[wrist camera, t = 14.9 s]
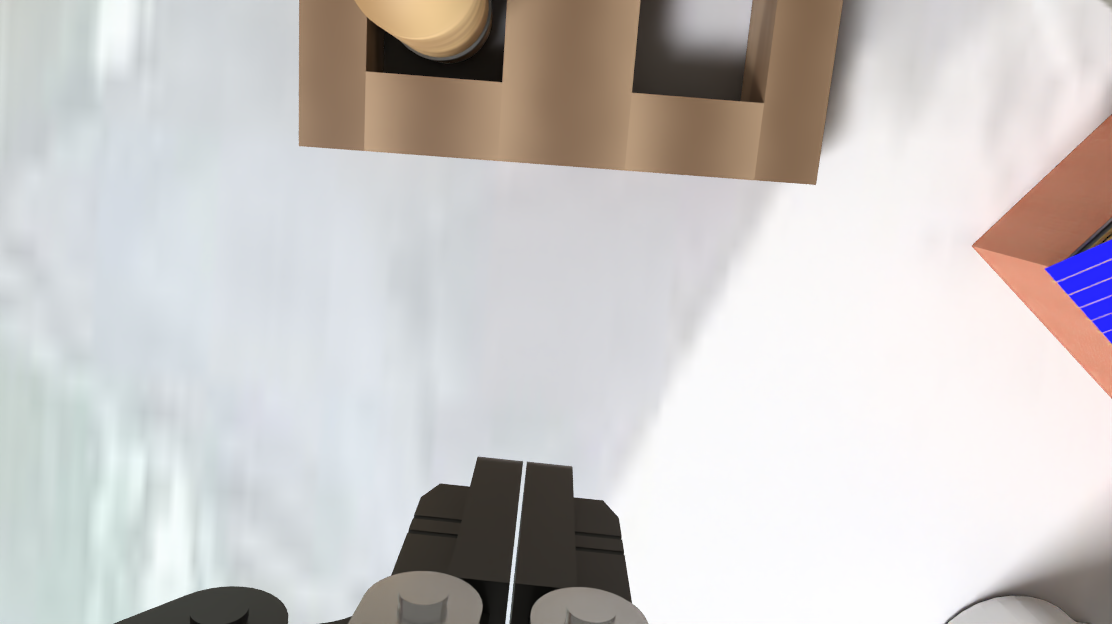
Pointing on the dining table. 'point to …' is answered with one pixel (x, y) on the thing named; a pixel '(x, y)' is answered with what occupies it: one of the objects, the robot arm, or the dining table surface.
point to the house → (1065, 252)
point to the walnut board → (575, 94)
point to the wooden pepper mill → (434, 25)
